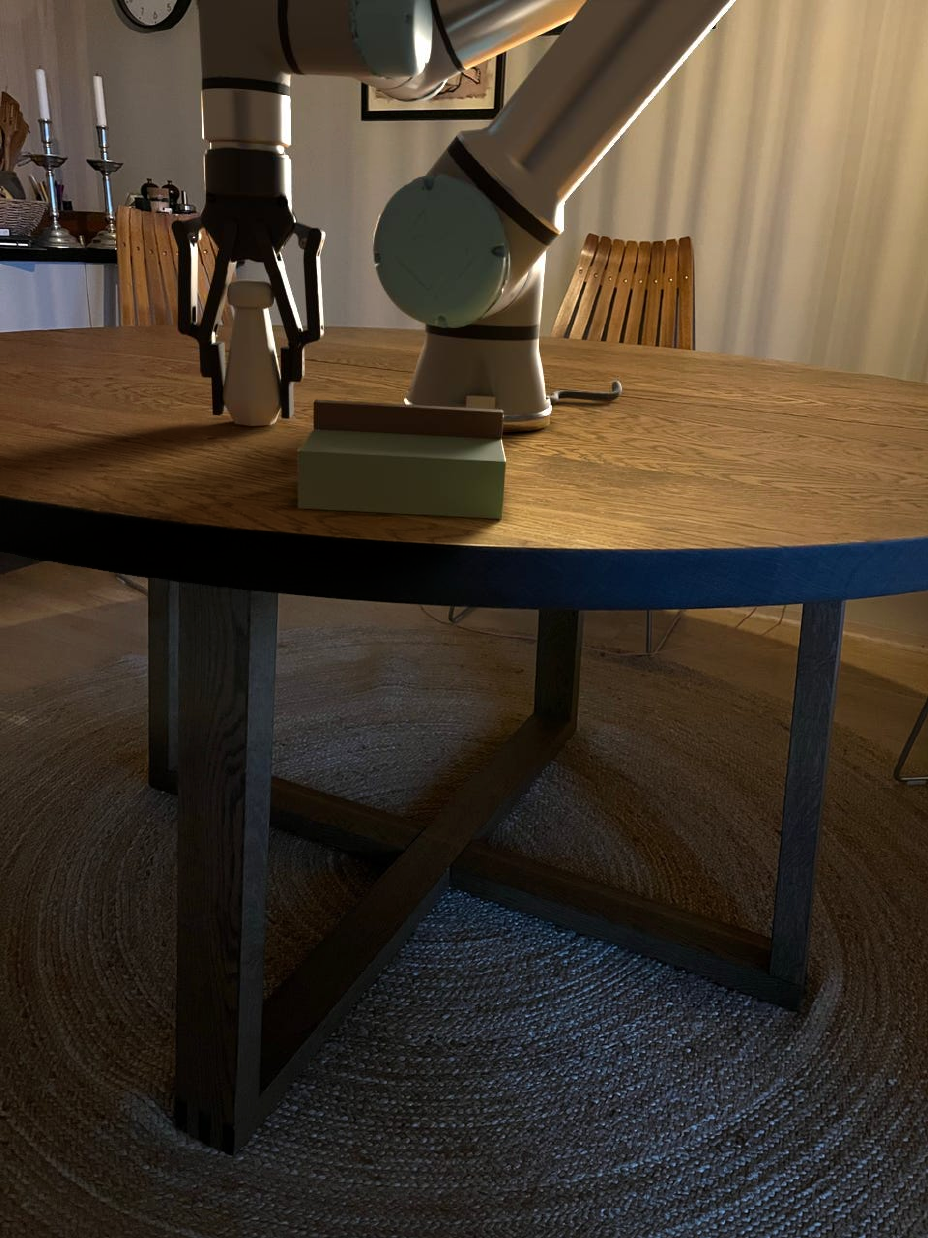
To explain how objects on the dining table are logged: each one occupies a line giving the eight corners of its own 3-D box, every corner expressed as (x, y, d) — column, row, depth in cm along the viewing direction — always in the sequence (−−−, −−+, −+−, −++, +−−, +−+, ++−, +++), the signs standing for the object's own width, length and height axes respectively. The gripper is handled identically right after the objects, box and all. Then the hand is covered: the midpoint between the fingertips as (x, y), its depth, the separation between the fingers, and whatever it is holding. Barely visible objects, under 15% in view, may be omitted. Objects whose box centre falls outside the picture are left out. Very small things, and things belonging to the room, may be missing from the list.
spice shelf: (315, 478, 76) (315, 399, 74) (497, 487, 77) (502, 409, 75) (297, 508, 68) (297, 420, 66) (502, 519, 68) (508, 432, 66)
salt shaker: (227, 415, 99) (223, 276, 94) (286, 417, 99) (284, 280, 94) (219, 426, 93) (214, 279, 88) (281, 428, 94) (279, 283, 89)
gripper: (358, 158, 91) (355, 412, 100) (152, 146, 91) (166, 403, 99) (350, 152, 84) (347, 426, 93) (126, 139, 84) (144, 416, 92)
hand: (253, 413), depth 96 cm, fingers closed on salt shaker, 6 cm apart
